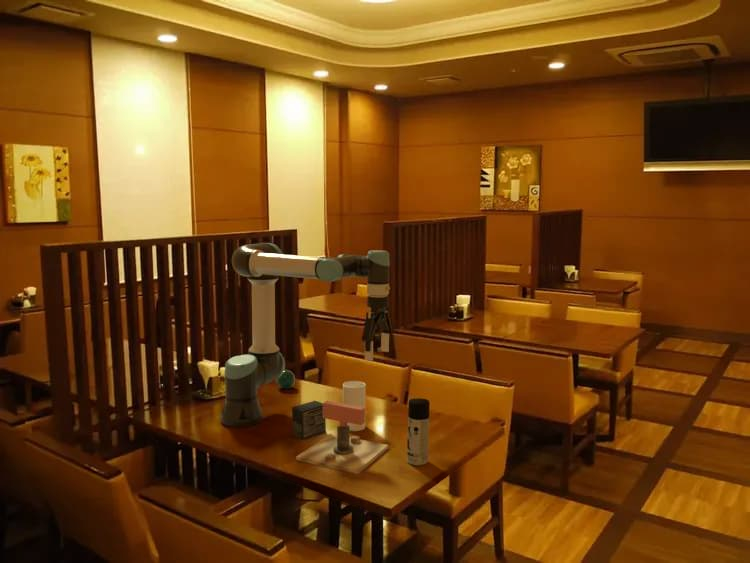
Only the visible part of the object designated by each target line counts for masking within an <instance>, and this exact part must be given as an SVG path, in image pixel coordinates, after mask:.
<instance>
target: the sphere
mask: <svg viewBox="0 0 750 563" xmlns="http://www.w3.org/2000/svg"><path fill="white" fill-rule="evenodd" d="M275 381H276V384H277V385H278V387H280V388H281V389H283V390H284V389H290V388H292V387H293V386H294V385H295V382H296V377H295V374H294V372H292V371H291V370H288V369H284V372H283V374H282V375H281V376H280V377H279V378H278V379H276V380H275Z"/></svg>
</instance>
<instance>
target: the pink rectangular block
mask: <svg viewBox="0 0 750 563" xmlns="http://www.w3.org/2000/svg"><path fill="white" fill-rule="evenodd" d="M322 403H323V418H326V420H332V421H336V422H337V421H338V422H339V425H340V427H343V428H344V427H347V423H352V424H358V425H362V424H363V423H365V424H366V406H365V407H359V406H354V405H348V404H343V402H342V403H341V402H335V401H330V400H326V401H324V402H322Z"/></svg>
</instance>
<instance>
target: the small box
mask: <svg viewBox="0 0 750 563" xmlns="http://www.w3.org/2000/svg"><path fill="white" fill-rule="evenodd" d="M323 403H324V402H319V401H317V400H312V401H310V402H309V401H308V402H306V403H302V404H299V405H295V406H292V407H291V412H292V413H291V414H292V417H291V418H292V422H291V423H292V426H291V427H292V436H294V437H296V438H297V439H300V440H303V441H304V440H307V439H310V438H313V437H316V436H319V435H322V434H324V433H326V432H327V429H326V428H327V427H326V423H327V421H326V420H327V419H326V418H323Z"/></svg>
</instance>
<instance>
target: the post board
mask: <svg viewBox="0 0 750 563" xmlns="http://www.w3.org/2000/svg"><path fill="white" fill-rule="evenodd" d="M336 428H337V430H336V432H337V433H336V434H335V433H328V434H327V435H326V436H323V438H321V439H320V440H319V441H317V442H316V443H314V444H312V445H311V446H310V447H308V448H306V449H305V450H304V451H302V452H301V453H299V454H298V455H296V457H295V459H296V461H299V462H302V463H306V464H311V465H315V466H321V467H324V468H329V469H333V470H337V471H343V472H346V473H351V474H356V475H359V474H360V473H361V472H362V471H364V470H365V469H367V467H369V465H371V464H372V463H373V462H374V461H375V460H376V459H377V458H378V457H380V456H381V455H382V454H383V453H384V452H386V451H387V450H388V449H389V444H386V443H380V442H377V441H376V442H375V441H370V440H365V439H361V436H358V435H352V436H350V435H351V434H350V433H351V431H350V426H348V425H347V427H344V428H343V427H340V424H339V425H338V426H336Z"/></svg>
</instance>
